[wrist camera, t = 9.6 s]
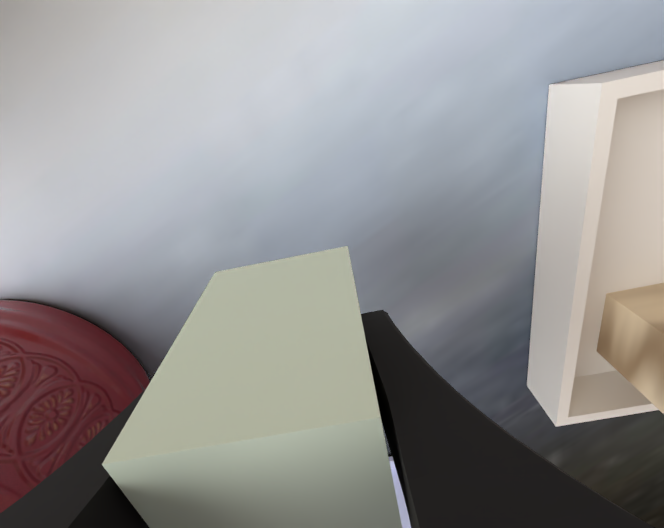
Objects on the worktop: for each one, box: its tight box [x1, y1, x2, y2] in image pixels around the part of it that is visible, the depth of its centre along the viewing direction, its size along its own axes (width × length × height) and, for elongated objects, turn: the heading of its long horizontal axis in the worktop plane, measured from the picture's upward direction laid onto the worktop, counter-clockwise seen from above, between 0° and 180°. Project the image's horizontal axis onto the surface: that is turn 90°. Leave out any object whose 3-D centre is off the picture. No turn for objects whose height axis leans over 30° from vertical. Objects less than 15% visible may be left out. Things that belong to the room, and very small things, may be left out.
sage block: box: [102, 246, 402, 528], centre depth 8 cm, size 4×4×6 cm
